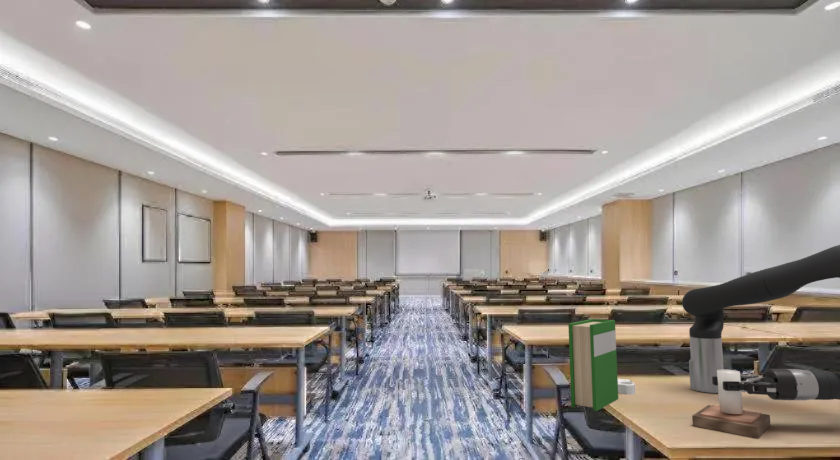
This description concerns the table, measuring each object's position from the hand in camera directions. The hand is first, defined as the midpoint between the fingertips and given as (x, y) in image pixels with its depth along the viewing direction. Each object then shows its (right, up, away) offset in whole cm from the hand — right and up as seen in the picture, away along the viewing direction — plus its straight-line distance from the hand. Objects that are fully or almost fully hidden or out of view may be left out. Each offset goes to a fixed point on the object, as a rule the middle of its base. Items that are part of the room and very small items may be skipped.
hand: (718, 383), depth 126 cm
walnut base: (+3, -10, -1) cm, 11 cm away
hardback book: (-24, -13, +22) cm, 35 cm away
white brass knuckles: (-13, -15, +40) cm, 44 cm away
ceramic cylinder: (+3, -7, -1) cm, 7 cm away
